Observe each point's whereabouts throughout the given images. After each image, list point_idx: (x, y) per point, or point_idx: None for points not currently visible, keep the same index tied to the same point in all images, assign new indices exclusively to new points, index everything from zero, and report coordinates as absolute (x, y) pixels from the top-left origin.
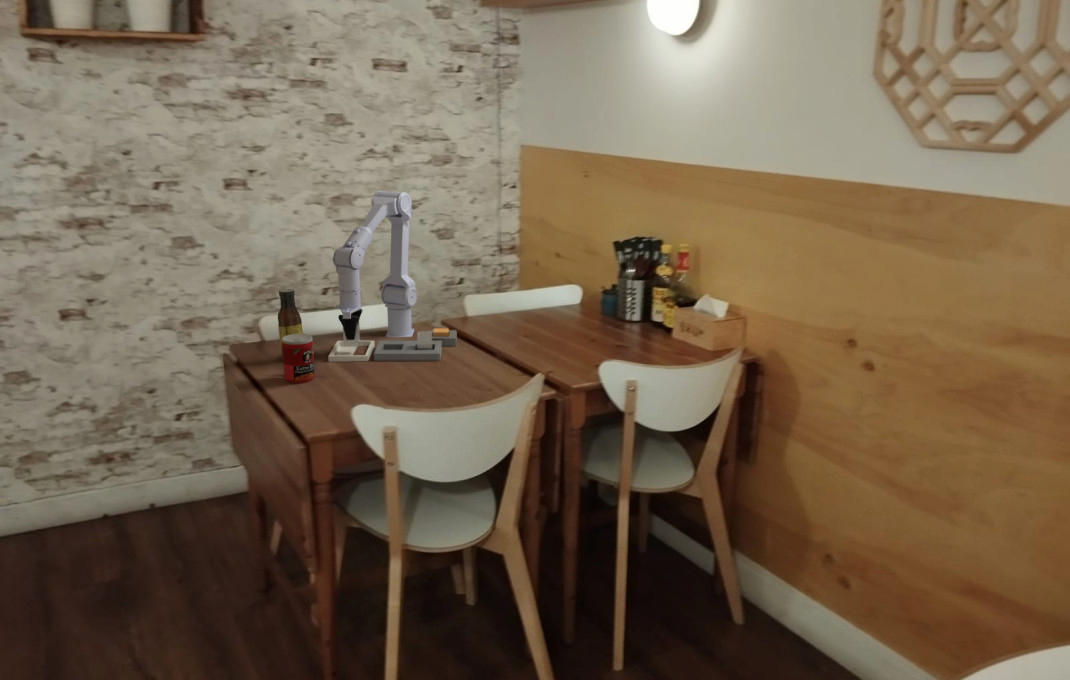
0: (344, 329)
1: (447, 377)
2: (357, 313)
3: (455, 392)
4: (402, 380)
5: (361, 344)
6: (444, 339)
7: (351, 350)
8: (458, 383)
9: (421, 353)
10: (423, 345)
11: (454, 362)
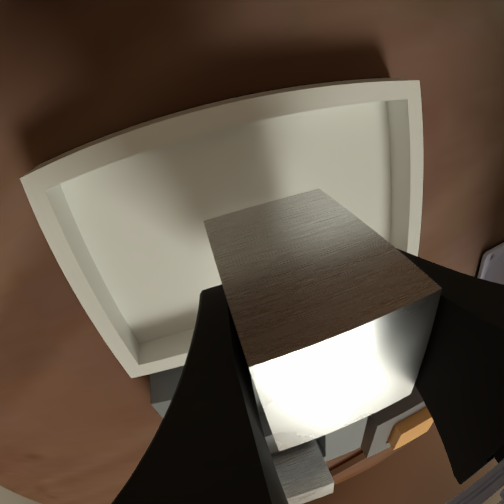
0: (181, 378)
1: None
2: (464, 449)
3: (63, 498)
4: (48, 453)
5: (396, 222)
6: (369, 445)
7: None
8: (106, 499)
9: None
10: None
11: None
